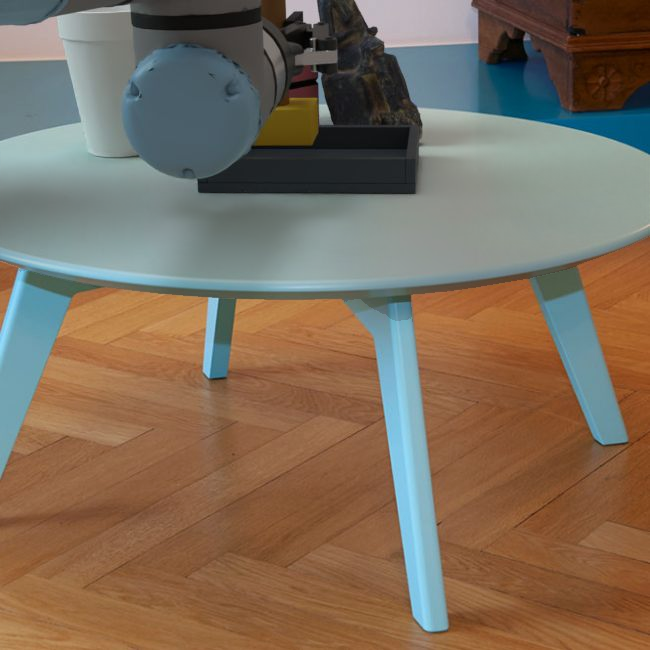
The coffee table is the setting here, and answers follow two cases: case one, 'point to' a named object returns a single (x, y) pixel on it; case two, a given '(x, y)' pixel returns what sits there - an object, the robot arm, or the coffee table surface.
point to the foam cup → (100, 73)
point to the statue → (363, 73)
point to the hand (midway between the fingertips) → (278, 27)
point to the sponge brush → (287, 102)
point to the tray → (328, 163)
